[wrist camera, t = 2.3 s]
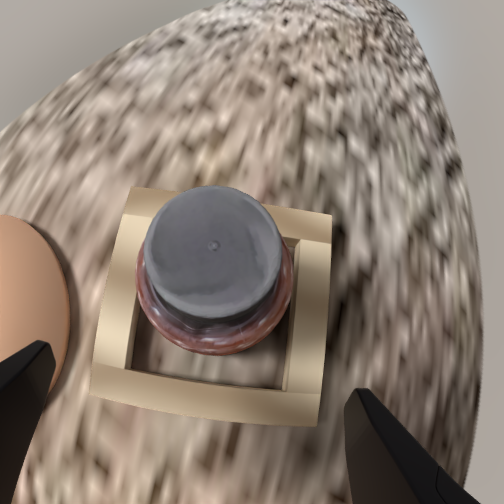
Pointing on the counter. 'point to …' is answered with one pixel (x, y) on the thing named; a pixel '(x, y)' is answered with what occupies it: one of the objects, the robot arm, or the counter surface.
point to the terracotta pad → (31, 293)
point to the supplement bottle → (214, 271)
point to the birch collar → (205, 393)
